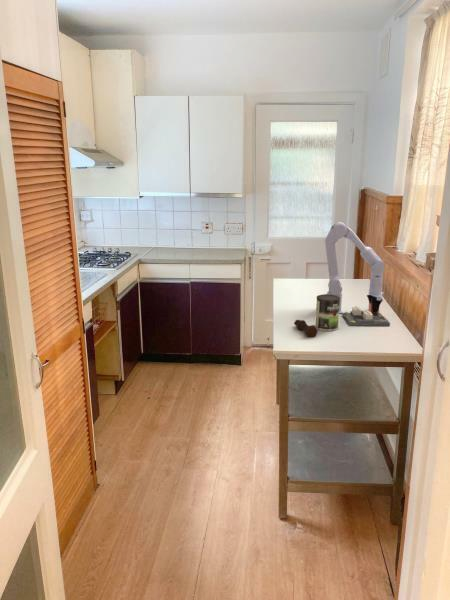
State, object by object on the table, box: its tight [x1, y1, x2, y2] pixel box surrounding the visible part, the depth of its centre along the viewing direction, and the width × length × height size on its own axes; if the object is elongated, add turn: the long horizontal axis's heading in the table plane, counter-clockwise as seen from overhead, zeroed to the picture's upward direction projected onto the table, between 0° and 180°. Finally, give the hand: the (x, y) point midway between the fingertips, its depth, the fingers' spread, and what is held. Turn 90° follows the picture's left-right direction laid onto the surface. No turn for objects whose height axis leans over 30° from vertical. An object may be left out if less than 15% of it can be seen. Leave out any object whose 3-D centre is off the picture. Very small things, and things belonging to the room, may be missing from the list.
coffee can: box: [314, 293, 340, 332], centre depth 215 cm, size 10×10×14 cm
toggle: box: [351, 305, 362, 315], centre depth 228 cm, size 3×5×4 cm, turn 179°
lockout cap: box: [368, 302, 380, 313], centre depth 236 cm, size 4×4×6 cm
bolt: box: [294, 319, 318, 339], centre depth 211 cm, size 6×5×15 cm
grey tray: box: [342, 310, 391, 327], centre depth 225 cm, size 18×15×2 cm
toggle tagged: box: [363, 310, 373, 320], centre depth 222 cm, size 3×5×4 cm, turn 179°
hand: (373, 310), depth 236 cm, fingers closed on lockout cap, 4 cm apart
